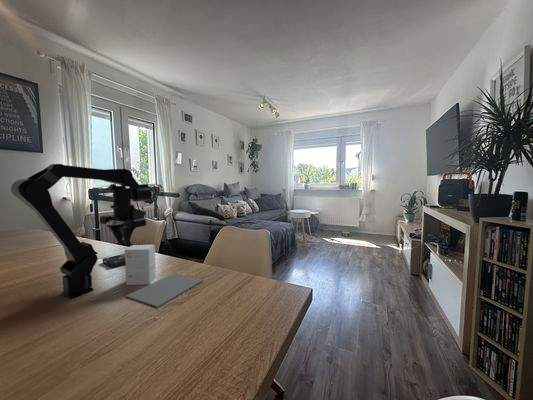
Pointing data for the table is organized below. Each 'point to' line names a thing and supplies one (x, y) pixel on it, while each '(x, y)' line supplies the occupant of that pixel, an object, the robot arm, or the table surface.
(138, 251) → the small box
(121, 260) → the disk drive
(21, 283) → the table surface
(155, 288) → the mat
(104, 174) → the robot arm
